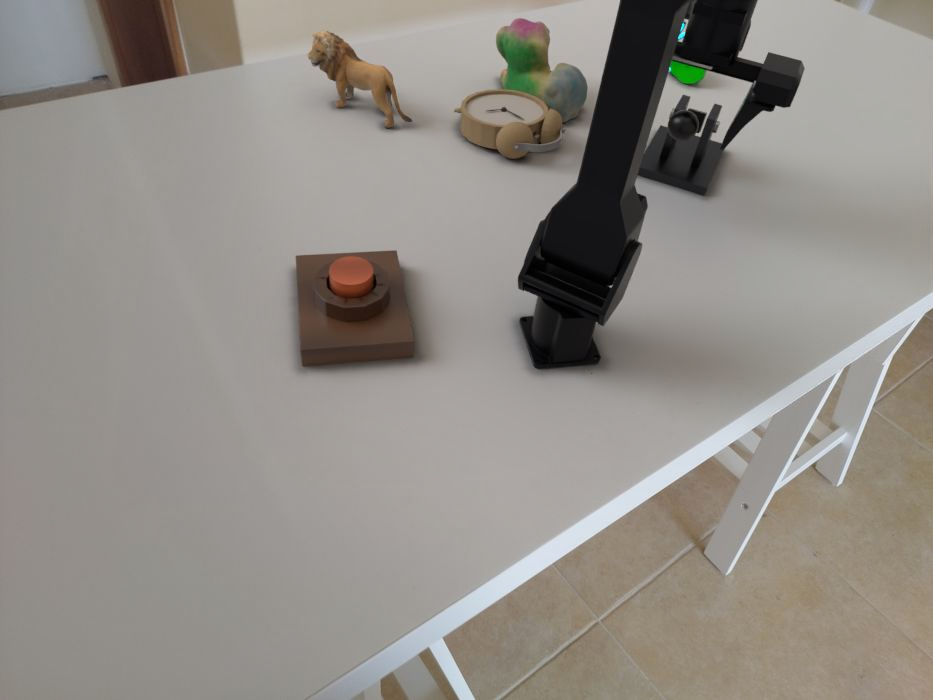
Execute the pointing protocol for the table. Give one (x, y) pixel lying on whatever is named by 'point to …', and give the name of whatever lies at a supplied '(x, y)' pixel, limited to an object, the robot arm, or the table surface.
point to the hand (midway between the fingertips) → (681, 135)
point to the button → (351, 277)
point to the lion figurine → (354, 73)
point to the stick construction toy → (686, 69)
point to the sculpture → (539, 68)
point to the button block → (352, 313)
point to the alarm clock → (510, 122)
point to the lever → (686, 124)
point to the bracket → (684, 155)
